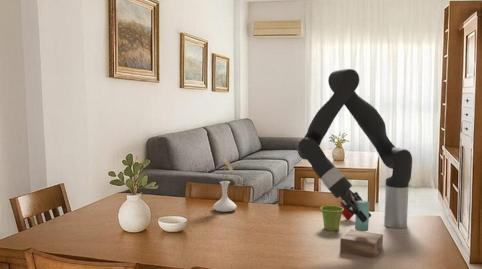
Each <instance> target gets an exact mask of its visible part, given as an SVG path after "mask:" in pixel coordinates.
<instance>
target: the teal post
mask: <svg viewBox="0 0 482 269" xmlns="http://www.w3.org/2000/svg"><path fill="white" fill-rule="evenodd" d="M356 202H357V204H358V207H359V209H360V211H362V212H363V214H364V215H365V216H366V217H367V220H366V221H365V222H362V221H361V220H360V219H359V218H358V217H357V215H355V219H354V220H355V222H354V225H355V226H354V230H357V231H364V232H369V223H370V222H369V219H370V218H369V213H370V201H367V200H363V201H356Z"/></svg>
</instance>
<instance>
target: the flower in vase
mask: <svg viewBox="0 0 482 269" xmlns="http://www.w3.org/2000/svg"><path fill="white" fill-rule="evenodd" d="M222 160H223V163H224V165H225V167H224V169H223V172H222V177H223V178H222V181H219V184H220V186H221V191H222V194H221V195H222V196H221V198H220V199H219V200H218V201H216V202H215V203H214V204H213V206H212V209H213V210H214V211H216V212H223V213H225V212H227V213H228V212H233V211H235V210H236V209H237V208H238V207H237V204H235V203H234V201H233V200H231V199H230V198H229V197H228V187H229V185H230V183H231V181H228V180H225V179H227V178H229V177H228V175H225V171H226V169H227V170H229V171H230V172H231V173H233V172H234V167H232V165H231V164H232V163H231V162H229V160H228V158H226V157H224V158H223V159H222ZM224 175H225V176H224Z"/></svg>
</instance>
